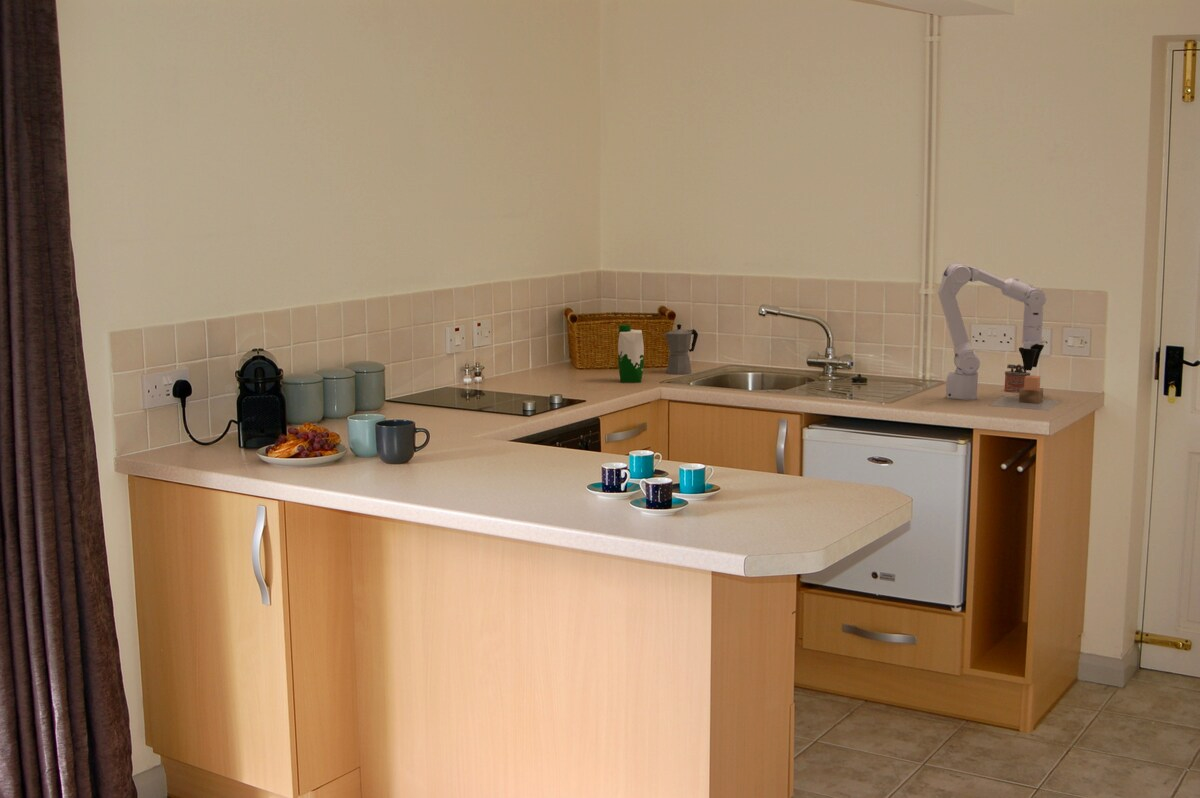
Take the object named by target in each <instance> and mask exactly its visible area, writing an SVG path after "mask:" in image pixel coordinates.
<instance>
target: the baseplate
mask: <svg viewBox="0 0 1200 798" xmlns="http://www.w3.org/2000/svg"><path fill="white" fill-rule="evenodd" d="M1060 402H1061V401H1060V400H1051V399H1050V400H1049V399H1043V401H1042V402H1040V403H1039V404H1034V403H1022V402H1019V397H1011V396H1000V397H999V398H998V399H996V400H995V401H994V402H992V403H991V404H988V406H989V407H1000V408H1012V409H1013V408H1014V409H1026V410H1036V411H1038V410H1039V411H1051V409H1053V408H1054V407H1055V406H1056V405H1058V404H1059V403H1060Z"/></svg>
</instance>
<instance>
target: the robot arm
mask: <svg viewBox="0 0 1200 798" xmlns="http://www.w3.org/2000/svg"><path fill="white" fill-rule="evenodd" d="M969 282H972V283H973V282H981V283H984V284H986V285H990V286H992V287H994V288H997V289H1000V291H1001V293H1002V295H1003V296H1006V297H1008V298H1010V299H1013V300H1015V301H1016V302H1019V303H1023V304H1024V309H1023V321H1022V322H1023V324H1022V325H1023V326H1022V339H1021V343H1022V344H1023V347H1019V348H1018V352H1019V353H1020V357H1021V359H1022V366H1024V370H1026V371H1029V372H1030V371H1032V369H1033V368H1037V366H1038V364H1039V363H1038V362H1039V359H1040V356H1041V353H1042V351H1043V349H1044V347H1045V343H1046V340H1044V339H1042V337H1043V336H1042V335H1043V317H1044V316H1043V315H1044V311H1043V310H1044V309H1043V308H1044V305H1045V304H1046V302H1047V298H1046V294H1045V292H1043V290H1041V289H1038V288H1035V287H1033V284H1030V283H1029V284H1026V283H1024V282H1022V281H1020V279H1019V278H1017V277H1014V278H1012V277H1010V278H1007V279H1003V278H1002V277H999V276H997V275H994V274H992V273H990V272H987V271H986V270H983V269H981V268H978V267H974V266H971V265H967V264H961V263H959V262H952V263H950V264H948V265H947V267H946V268H945V269H944V271H943V273H942V277H941V282H940V285H939V288H938V291H937V292H938V293H937V294H938V297H939V302H940V305H941V308H942V310H943V314H944V318H945V321H946V324H947V328H948V330H949V334H950V338H951V342H952V344H953V353H954V358H953V363H954V366H955V367H956V368H955V370H954V372H948V374H947V375H946V385H945V386H946V387H945V399H956V400H967V401H968V400H976V399H978V385H979V384H978V382H979V371H978V370H979V368H980V366H981V361H980V359H979V358H978V356H977V354H975V352H974V349H973V346H972V345H971V344H970V340H969V336H968V334H967V329H966V328H965V324H964V320H963V316H962V314H961V311H960V307H959V304H958V300H957V295H958V293H959V291H960V290H961V289H962V288H963V287H964V286H965V285H967V283H969ZM1024 370H1023V371H1024Z"/></svg>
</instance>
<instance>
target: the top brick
mask: <svg viewBox="0 0 1200 798" xmlns="http://www.w3.org/2000/svg"><path fill="white" fill-rule="evenodd" d="M1040 386H1041V375H1031V374H1030V375H1027V376H1025V379H1024V390H1039V389H1040V388H1041V387H1040Z"/></svg>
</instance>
